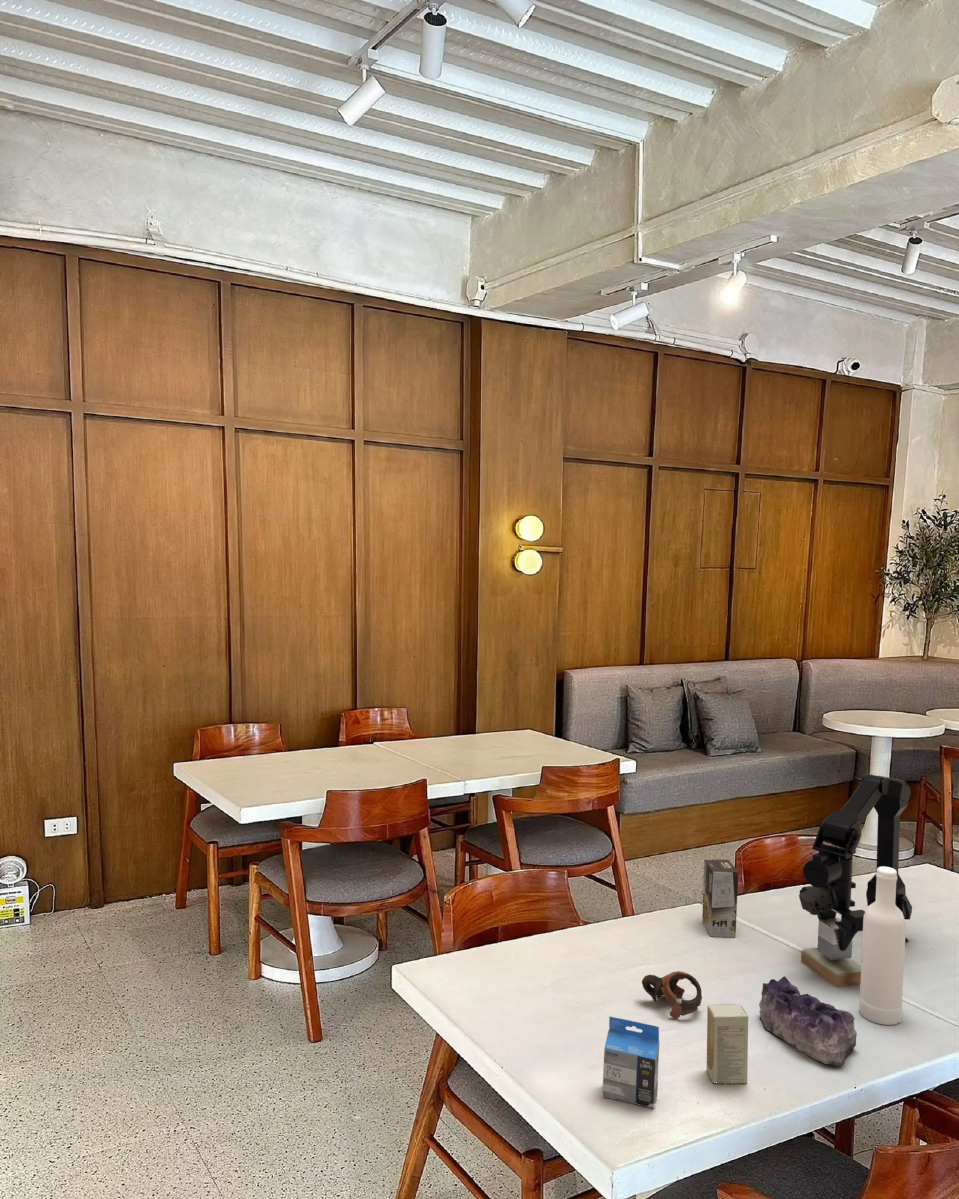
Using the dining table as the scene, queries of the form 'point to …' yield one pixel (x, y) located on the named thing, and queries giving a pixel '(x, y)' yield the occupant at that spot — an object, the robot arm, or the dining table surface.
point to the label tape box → (631, 1062)
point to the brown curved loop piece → (673, 992)
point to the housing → (831, 940)
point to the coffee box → (720, 898)
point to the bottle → (883, 954)
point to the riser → (832, 968)
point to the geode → (807, 1022)
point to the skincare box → (727, 1043)
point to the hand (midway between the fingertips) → (834, 945)
